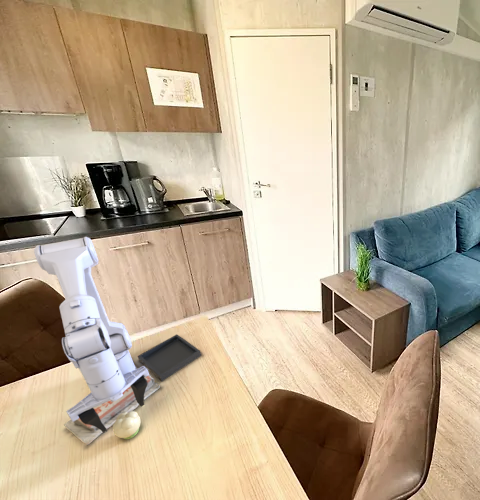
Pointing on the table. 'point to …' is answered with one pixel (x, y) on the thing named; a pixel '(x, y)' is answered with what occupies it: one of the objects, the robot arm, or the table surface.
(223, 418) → the table surface
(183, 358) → the tray
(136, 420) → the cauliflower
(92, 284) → the robot arm
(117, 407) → the packaged product
